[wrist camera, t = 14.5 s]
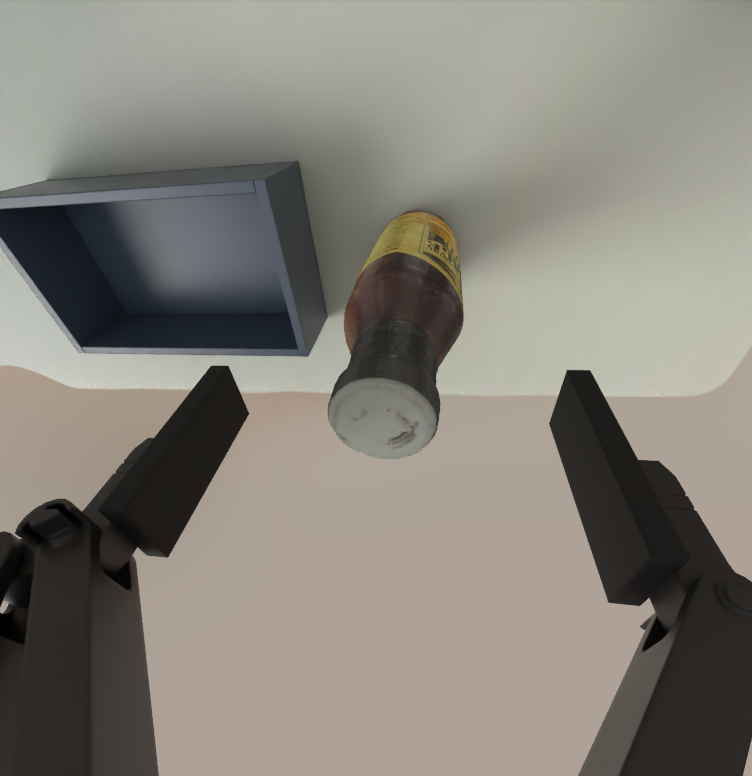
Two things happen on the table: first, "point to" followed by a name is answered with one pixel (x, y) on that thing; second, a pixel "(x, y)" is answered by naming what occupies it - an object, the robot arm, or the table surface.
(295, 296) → the open storage box
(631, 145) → the table surface
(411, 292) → the sauce bottle
